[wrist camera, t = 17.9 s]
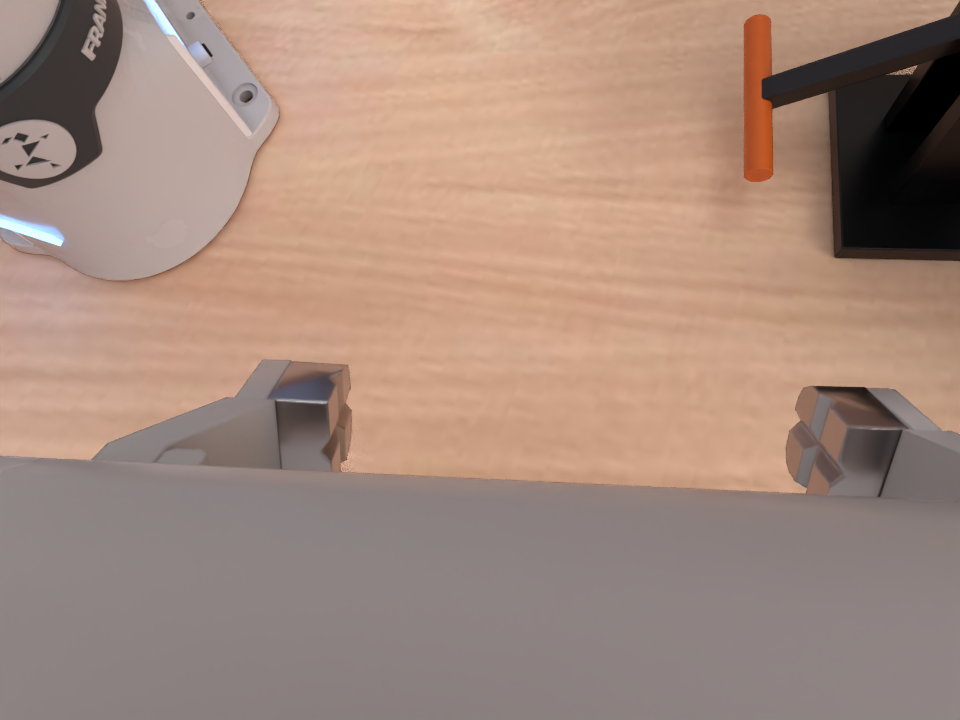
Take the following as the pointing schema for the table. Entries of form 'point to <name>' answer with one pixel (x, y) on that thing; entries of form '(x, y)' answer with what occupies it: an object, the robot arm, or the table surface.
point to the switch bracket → (898, 164)
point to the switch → (823, 77)
